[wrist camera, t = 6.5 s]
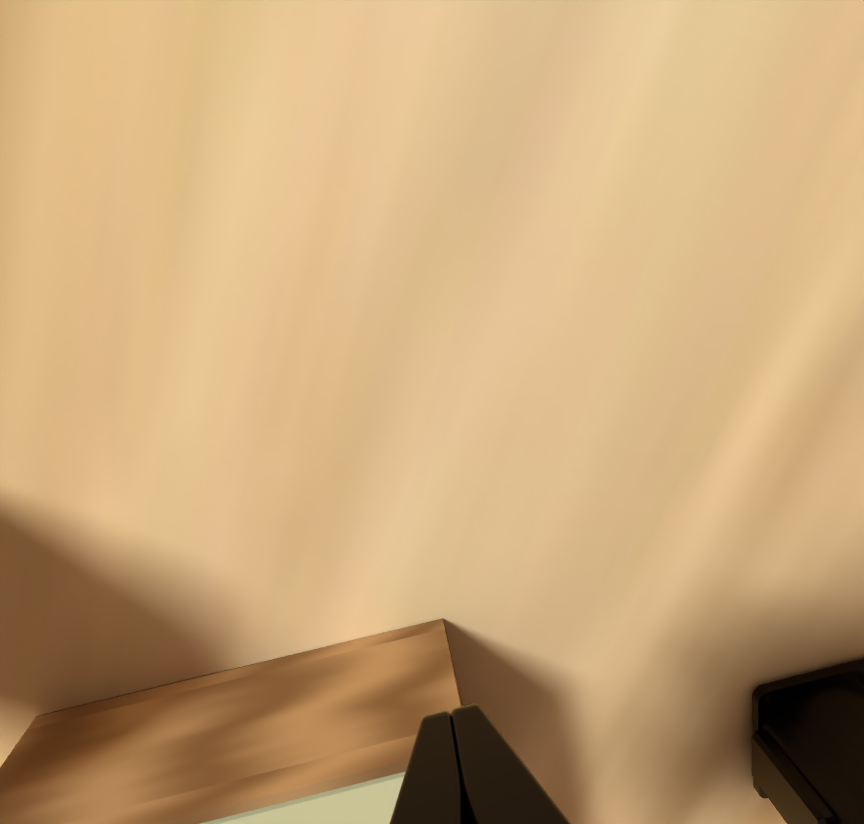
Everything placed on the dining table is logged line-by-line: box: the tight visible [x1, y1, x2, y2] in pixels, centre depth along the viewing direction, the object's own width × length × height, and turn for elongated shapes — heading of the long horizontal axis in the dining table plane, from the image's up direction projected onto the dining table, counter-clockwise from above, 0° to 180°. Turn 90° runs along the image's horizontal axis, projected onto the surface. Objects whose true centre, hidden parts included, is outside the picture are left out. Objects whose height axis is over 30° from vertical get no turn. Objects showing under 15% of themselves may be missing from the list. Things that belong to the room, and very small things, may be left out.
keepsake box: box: [0, 619, 462, 824], centre depth 20 cm, size 16×9×6 cm, turn 102°
